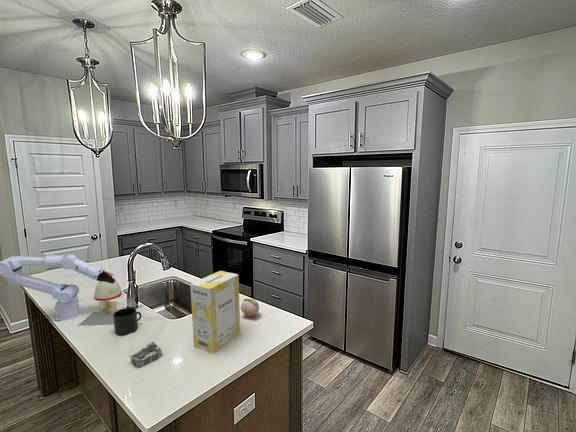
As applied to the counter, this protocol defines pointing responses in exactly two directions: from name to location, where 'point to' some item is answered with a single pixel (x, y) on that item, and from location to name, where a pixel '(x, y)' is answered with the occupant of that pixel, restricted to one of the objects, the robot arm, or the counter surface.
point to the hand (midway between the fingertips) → (114, 281)
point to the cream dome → (107, 290)
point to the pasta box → (215, 310)
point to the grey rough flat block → (145, 351)
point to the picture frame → (98, 319)
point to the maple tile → (107, 307)
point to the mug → (126, 321)
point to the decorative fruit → (250, 307)
